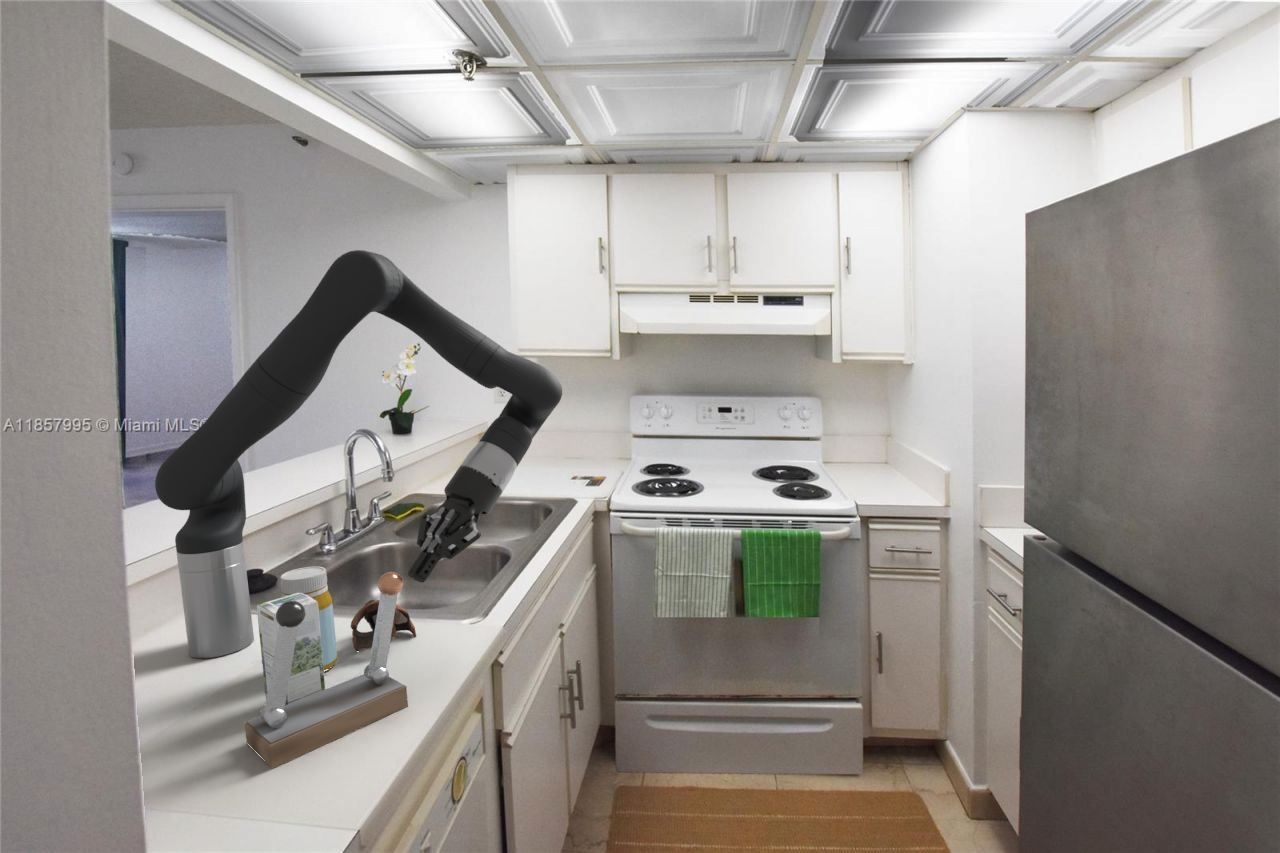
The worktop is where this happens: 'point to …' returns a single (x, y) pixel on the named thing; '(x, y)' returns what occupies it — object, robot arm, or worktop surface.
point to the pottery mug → (370, 614)
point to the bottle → (316, 587)
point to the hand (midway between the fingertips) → (415, 578)
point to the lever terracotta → (383, 627)
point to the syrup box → (307, 647)
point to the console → (325, 718)
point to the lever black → (282, 662)
